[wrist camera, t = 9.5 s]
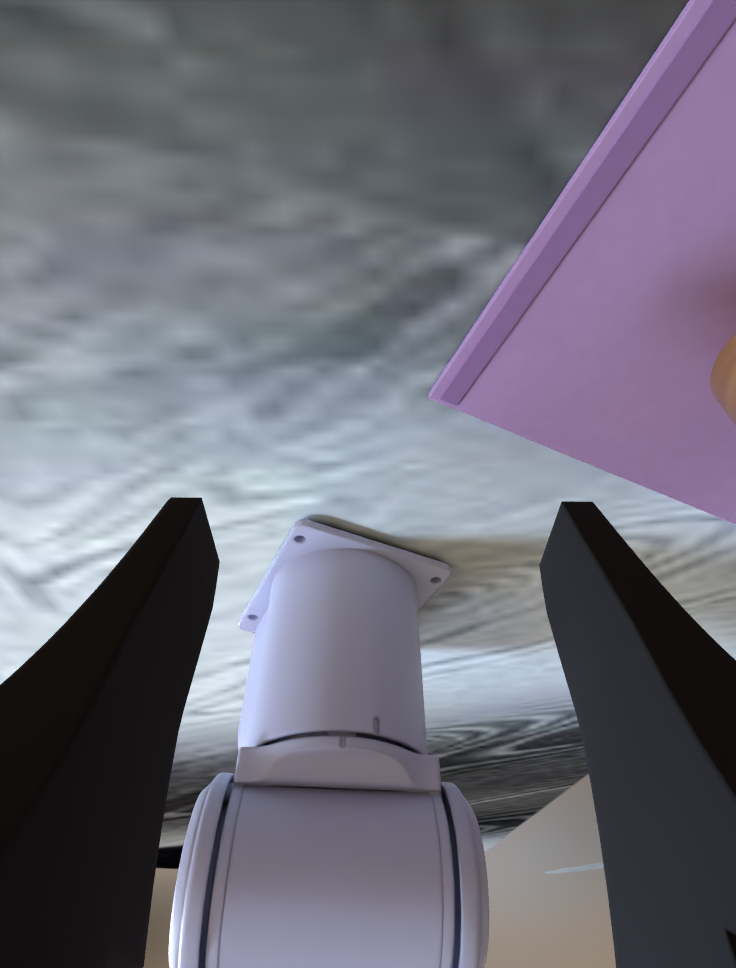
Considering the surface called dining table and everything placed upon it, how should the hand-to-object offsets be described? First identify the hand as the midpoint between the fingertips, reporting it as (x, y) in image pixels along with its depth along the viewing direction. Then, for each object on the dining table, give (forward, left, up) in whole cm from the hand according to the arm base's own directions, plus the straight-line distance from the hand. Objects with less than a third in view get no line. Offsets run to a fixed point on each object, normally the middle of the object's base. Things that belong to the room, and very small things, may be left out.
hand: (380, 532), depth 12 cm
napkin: (+5, -13, -9) cm, 17 cm away
